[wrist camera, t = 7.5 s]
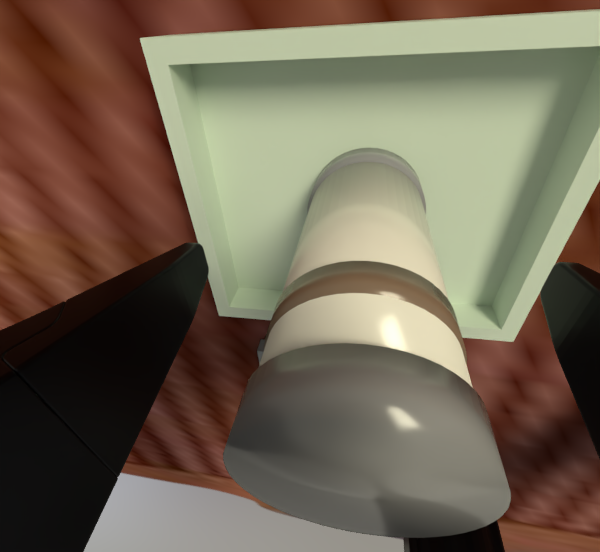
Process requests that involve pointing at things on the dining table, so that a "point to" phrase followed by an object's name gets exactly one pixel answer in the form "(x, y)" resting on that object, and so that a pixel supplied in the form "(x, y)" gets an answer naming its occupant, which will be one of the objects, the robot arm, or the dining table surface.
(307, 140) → the pale green rectangular frame
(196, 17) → the dining table surface
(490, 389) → the dining table surface
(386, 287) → the banded cream cylinder
